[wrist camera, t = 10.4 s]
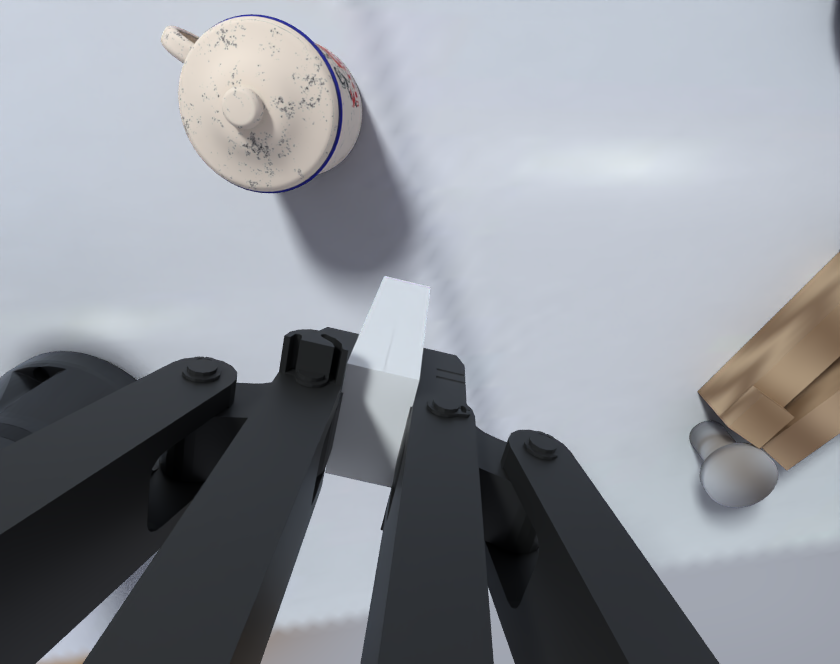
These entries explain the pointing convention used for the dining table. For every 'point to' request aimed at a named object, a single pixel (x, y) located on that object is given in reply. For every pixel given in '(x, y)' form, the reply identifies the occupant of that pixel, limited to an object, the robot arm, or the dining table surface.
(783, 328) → the bar
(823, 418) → the tongs lower arm
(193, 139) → the teacup with lid
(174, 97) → the dining table surface
